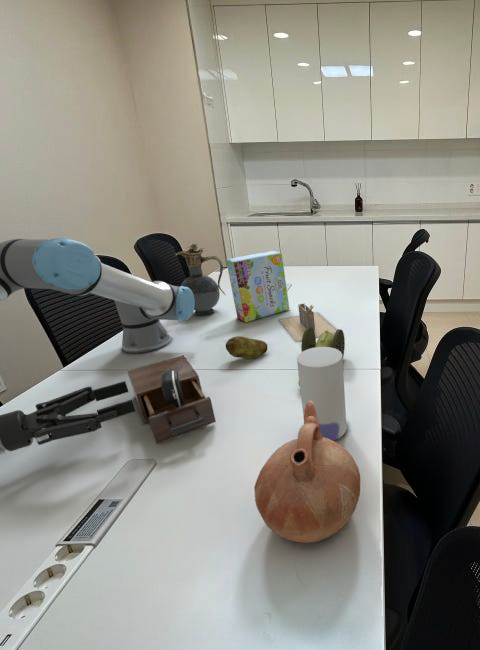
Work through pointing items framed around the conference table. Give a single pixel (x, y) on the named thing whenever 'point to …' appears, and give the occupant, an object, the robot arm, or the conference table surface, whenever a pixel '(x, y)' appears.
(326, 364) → the container
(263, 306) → the snack box
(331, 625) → the conference table surface
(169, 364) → the cabinet
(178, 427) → the drawer
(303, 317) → the ruin model on sheet
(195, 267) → the pitcher
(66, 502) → the conference table surface
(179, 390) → the battery charger
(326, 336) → the cannon
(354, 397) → the conference table surface
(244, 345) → the potato
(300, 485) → the jug
